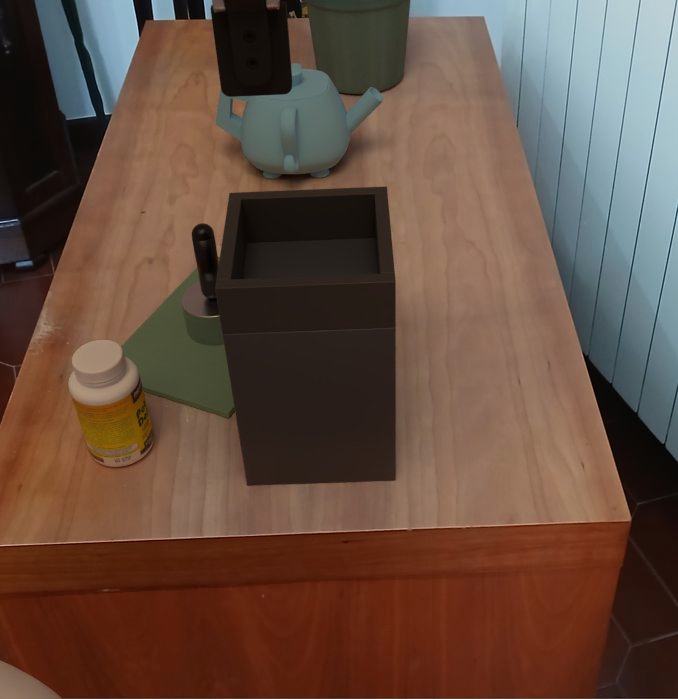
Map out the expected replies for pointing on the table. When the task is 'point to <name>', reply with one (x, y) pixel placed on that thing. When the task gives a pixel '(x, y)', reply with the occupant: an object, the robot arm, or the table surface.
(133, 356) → the green mat
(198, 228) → the meat pounder
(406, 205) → the table surface
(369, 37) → the flower pot
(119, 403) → the supplement bottle
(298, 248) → the black box
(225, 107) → the teapot
